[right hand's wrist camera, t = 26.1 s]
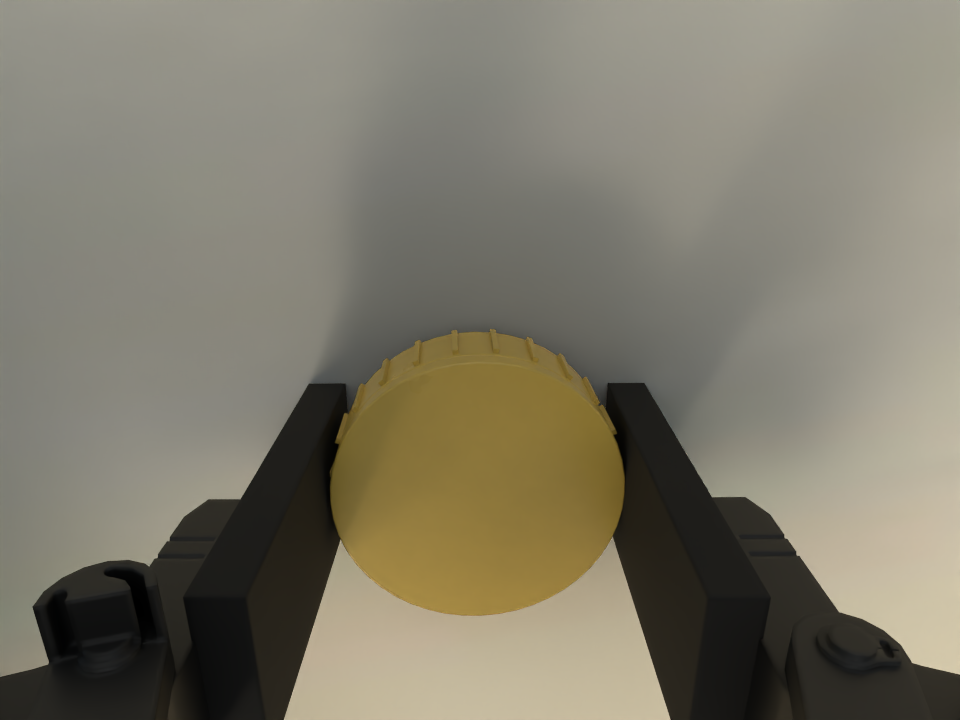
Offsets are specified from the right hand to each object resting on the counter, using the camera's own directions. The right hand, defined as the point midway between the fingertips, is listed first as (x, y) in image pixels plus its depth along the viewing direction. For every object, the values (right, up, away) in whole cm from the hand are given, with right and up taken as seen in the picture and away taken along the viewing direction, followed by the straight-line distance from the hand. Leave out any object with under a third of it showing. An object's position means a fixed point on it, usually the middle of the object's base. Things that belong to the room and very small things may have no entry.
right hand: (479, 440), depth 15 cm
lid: (0, -1, -2) cm, 2 cm away
